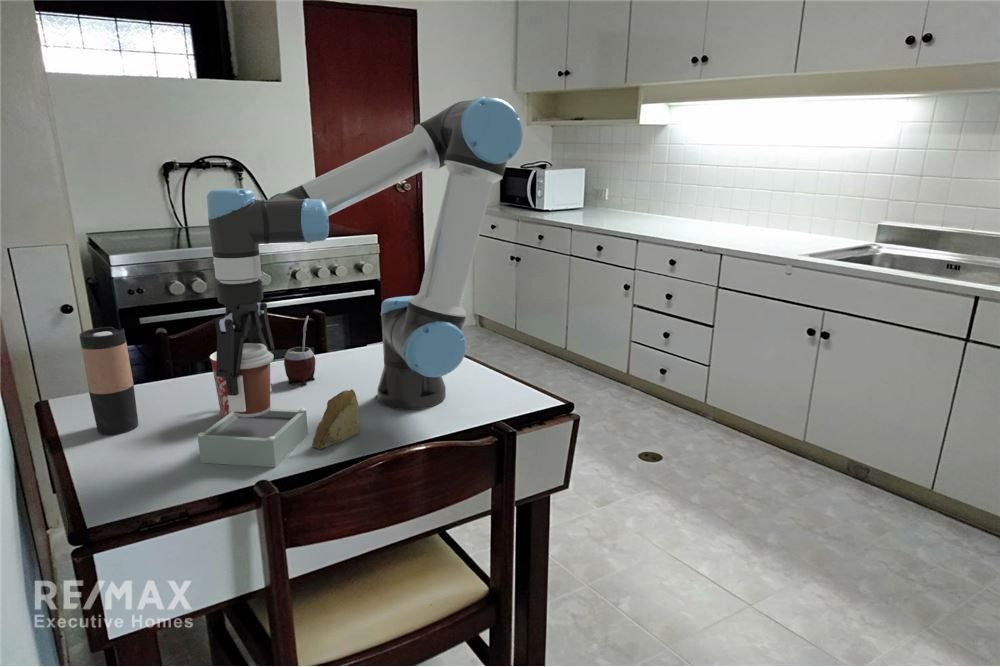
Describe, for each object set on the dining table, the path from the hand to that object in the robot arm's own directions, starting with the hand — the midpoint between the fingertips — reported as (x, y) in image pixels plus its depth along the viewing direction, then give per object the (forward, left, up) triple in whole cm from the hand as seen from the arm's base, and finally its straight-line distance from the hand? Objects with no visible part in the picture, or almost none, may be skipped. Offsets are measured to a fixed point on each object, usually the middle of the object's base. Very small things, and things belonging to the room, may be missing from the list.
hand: (251, 400), depth 120 cm
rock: (-13, -6, -10) cm, 17 cm away
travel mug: (+32, -5, -10) cm, 34 cm away
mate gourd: (+7, -36, -10) cm, 38 cm away
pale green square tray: (0, 0, -9) cm, 9 cm away
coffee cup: (0, 0, -2) cm, 2 cm away
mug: (+12, -16, -10) cm, 22 cm away
